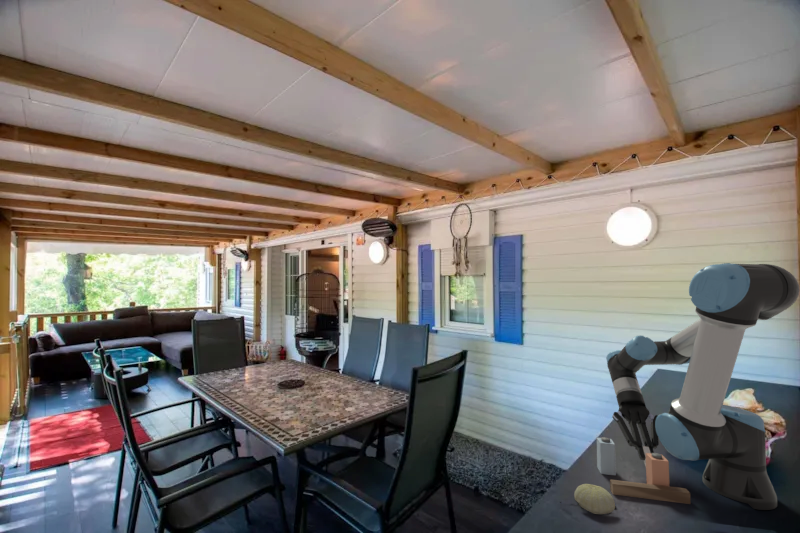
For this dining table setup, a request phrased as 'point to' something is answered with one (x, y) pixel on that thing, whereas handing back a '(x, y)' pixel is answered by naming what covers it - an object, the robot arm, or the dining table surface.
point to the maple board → (650, 491)
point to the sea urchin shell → (594, 499)
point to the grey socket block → (606, 456)
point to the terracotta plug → (657, 469)
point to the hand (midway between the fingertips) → (651, 472)
